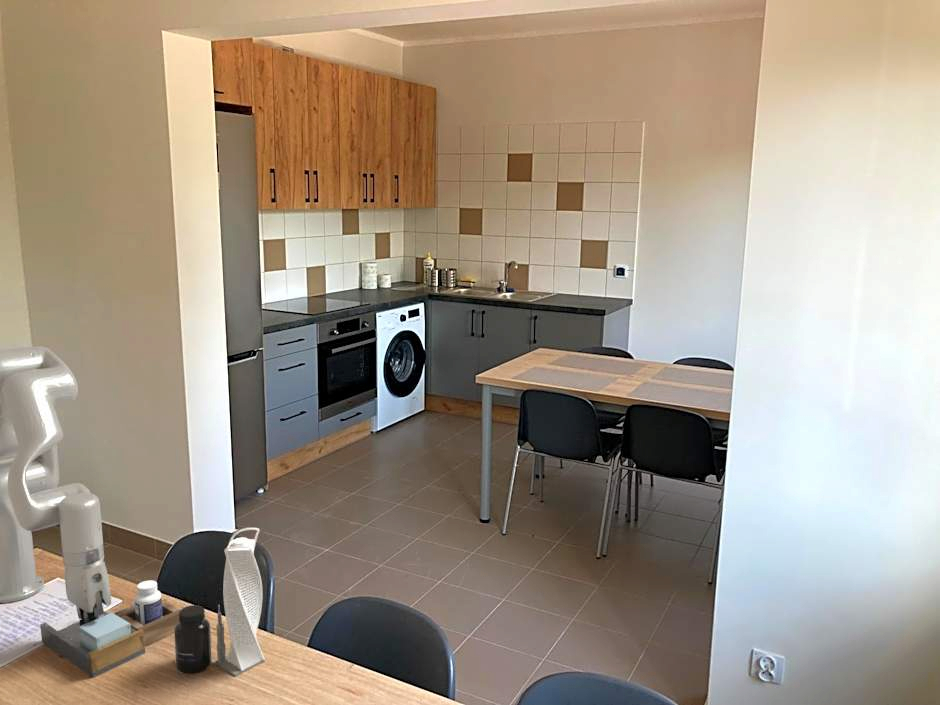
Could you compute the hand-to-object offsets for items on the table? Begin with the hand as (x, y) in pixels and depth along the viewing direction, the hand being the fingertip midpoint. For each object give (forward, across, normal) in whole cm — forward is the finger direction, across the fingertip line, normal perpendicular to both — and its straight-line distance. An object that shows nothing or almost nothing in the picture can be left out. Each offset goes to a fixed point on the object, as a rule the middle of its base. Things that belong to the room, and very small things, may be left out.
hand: (90, 635), depth 161 cm
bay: (+2, -1, 0) cm, 2 cm away
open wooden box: (+2, -2, -11) cm, 11 cm away
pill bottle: (+2, -4, -11) cm, 12 cm away
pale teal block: (+1, -6, 0) cm, 6 cm away
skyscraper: (+3, -30, -16) cm, 34 cm away
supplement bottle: (+3, -23, -9) cm, 25 cm away
